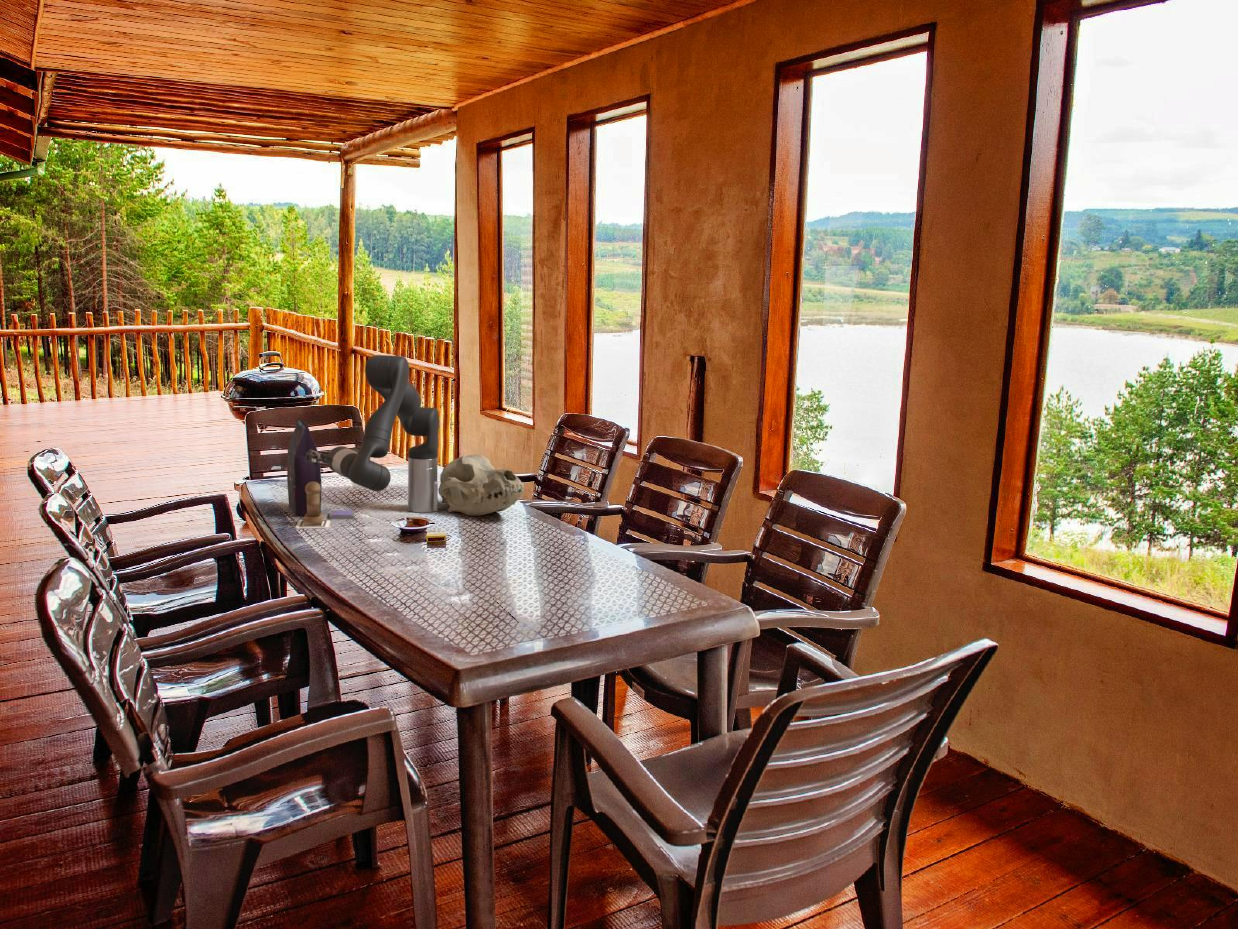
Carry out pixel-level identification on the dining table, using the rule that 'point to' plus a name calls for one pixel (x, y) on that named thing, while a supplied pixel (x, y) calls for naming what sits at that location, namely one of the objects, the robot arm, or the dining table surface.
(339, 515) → the ink pad
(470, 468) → the animal skull
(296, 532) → the dining table surface
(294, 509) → the purple printed bag
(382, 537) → the dining table surface
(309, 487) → the stamp
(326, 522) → the sheet
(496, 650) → the dining table surface
